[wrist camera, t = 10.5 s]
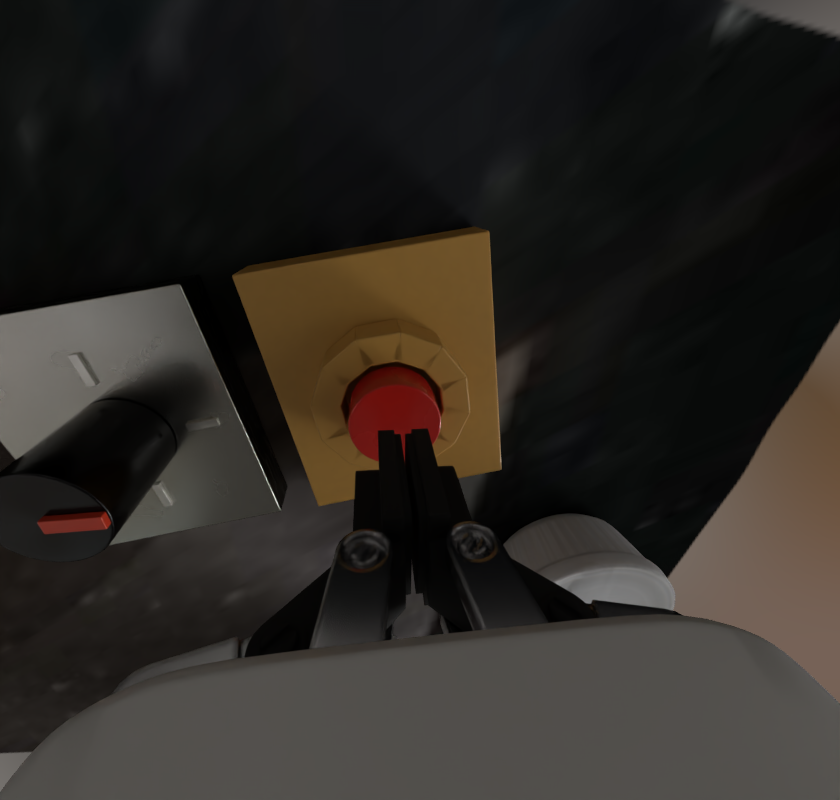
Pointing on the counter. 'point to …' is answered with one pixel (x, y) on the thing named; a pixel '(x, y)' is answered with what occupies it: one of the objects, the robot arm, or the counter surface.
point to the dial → (83, 481)
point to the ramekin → (590, 561)
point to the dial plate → (144, 395)
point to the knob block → (379, 345)
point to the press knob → (391, 408)
